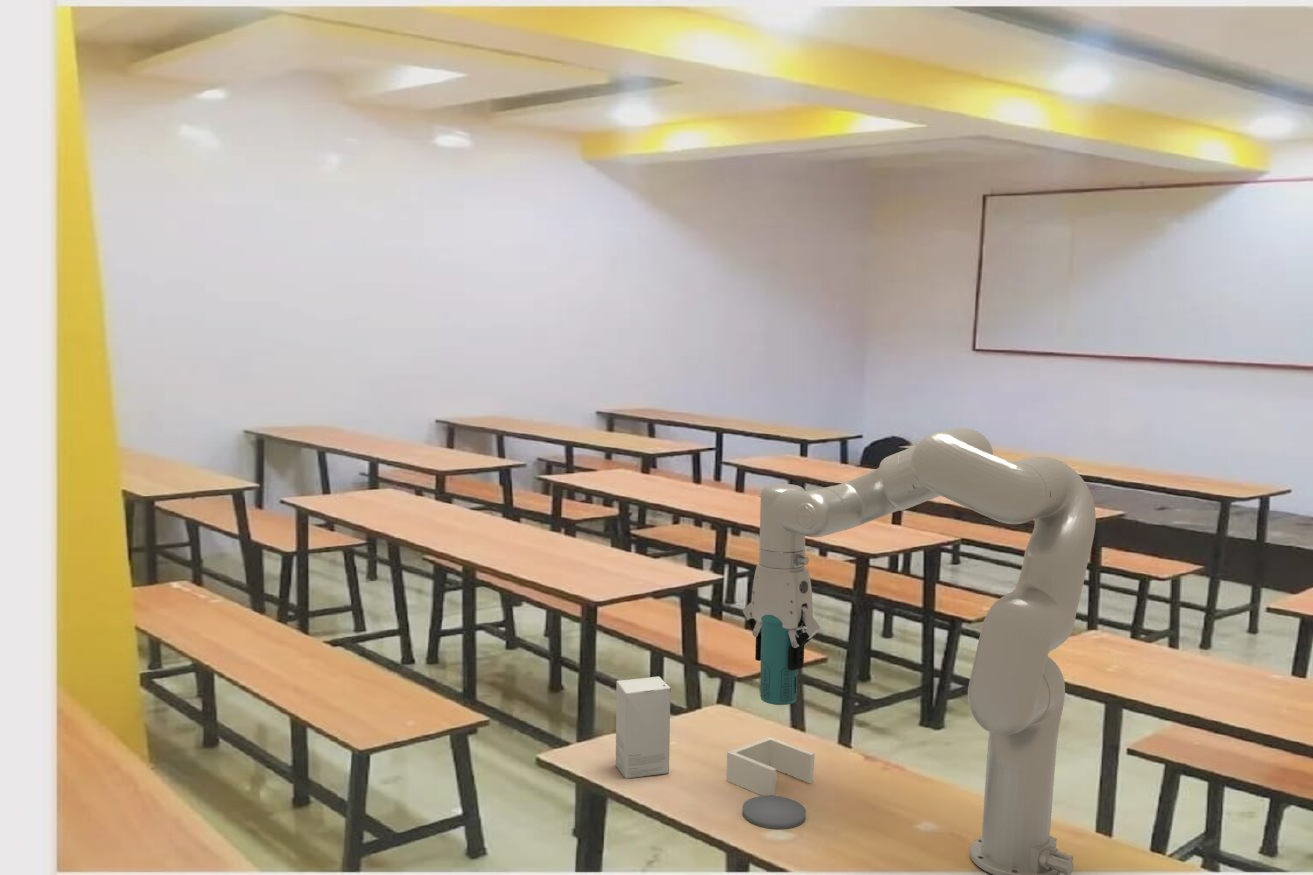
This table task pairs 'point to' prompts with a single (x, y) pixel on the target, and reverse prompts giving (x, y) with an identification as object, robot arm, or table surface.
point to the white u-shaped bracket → (767, 765)
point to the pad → (774, 812)
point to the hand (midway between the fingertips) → (779, 662)
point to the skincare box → (642, 727)
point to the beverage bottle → (776, 664)
